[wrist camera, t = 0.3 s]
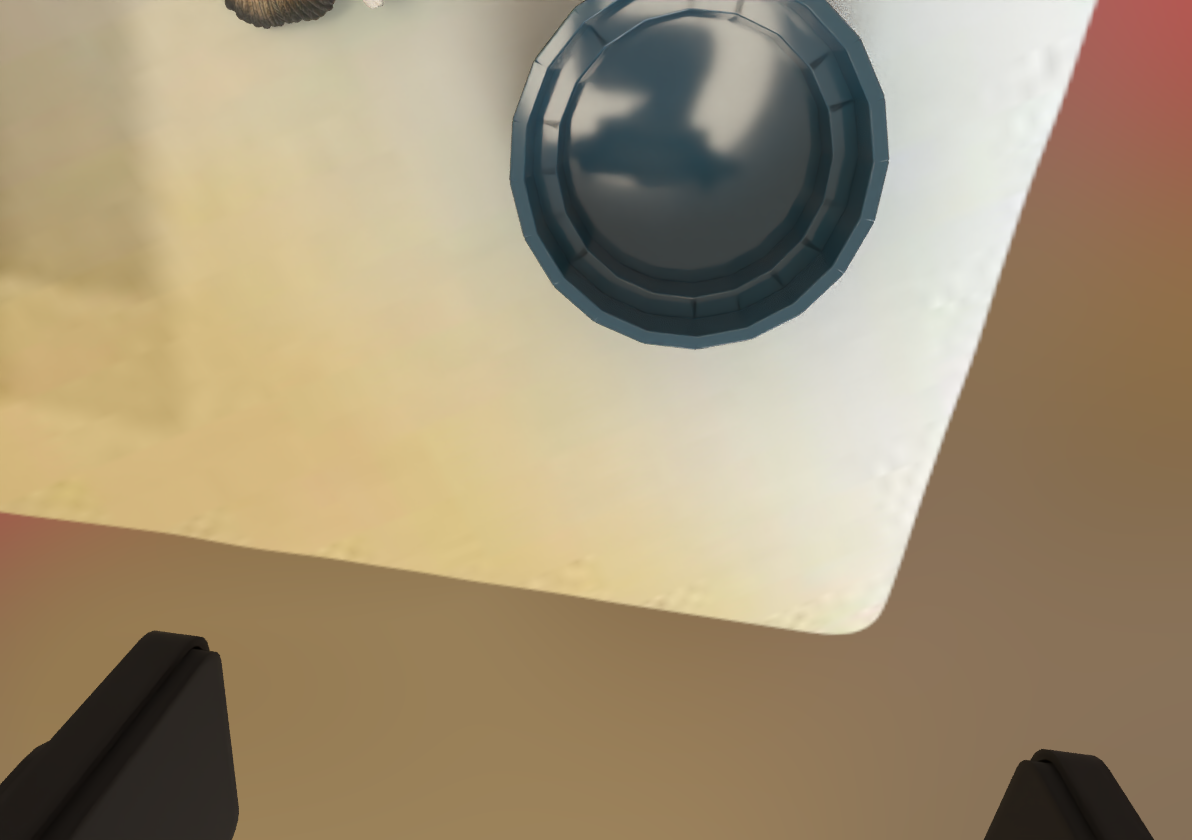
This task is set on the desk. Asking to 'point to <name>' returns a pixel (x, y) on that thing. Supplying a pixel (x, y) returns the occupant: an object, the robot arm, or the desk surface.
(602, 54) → the bowl
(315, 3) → the eagle figurine
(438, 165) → the desk surface
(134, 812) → the robot arm
